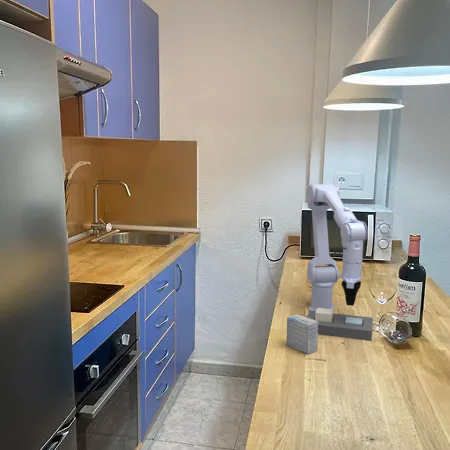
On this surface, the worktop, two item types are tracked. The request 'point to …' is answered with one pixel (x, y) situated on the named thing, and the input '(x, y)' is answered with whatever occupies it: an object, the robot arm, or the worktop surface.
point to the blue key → (353, 321)
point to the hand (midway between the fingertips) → (350, 304)
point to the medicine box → (302, 333)
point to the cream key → (324, 315)
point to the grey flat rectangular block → (345, 327)
